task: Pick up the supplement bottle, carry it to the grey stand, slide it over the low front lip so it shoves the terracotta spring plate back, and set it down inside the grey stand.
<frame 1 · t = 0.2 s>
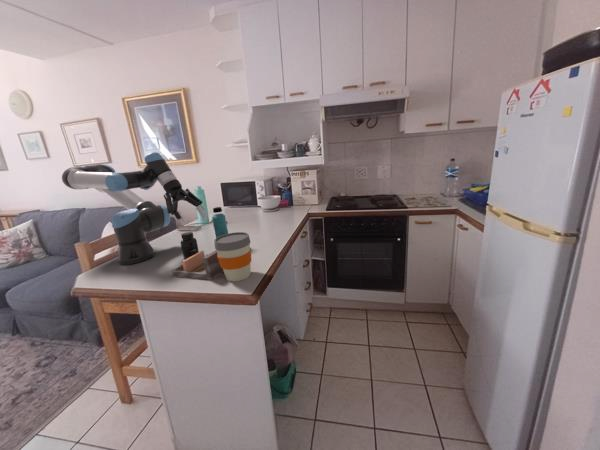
hand: (195, 220, 125), 15 cm above the table, tool tilted 30°, fingers open, 13 cm apart
reusable coffee cup: (238, 276, 98), on the table
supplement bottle: (192, 258, 121), on the table
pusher: (194, 261, 107), point 3 cm above the table, slide at 0.0 cm
beverage bottle: (224, 246, 133), on the table
grey stand: (203, 269, 106), on the table
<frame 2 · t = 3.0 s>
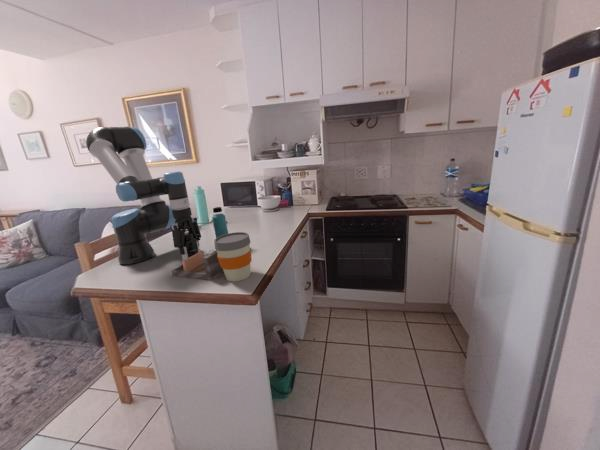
hand: (192, 257, 121), 1 cm above the table, tool pointing down, fingers closed on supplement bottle, 7 cm apart
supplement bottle: (192, 258, 121), on the table, touching gripper
everything else where it was.
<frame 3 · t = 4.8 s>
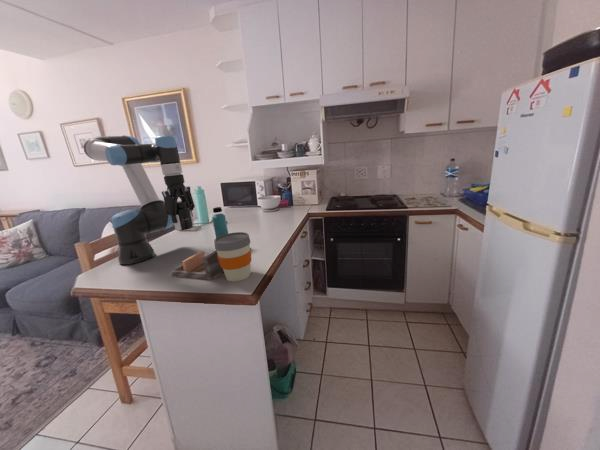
hand: (185, 227, 117), 15 cm above the table, tool pointing down, fingers closed on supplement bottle, 7 cm apart
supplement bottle: (185, 228, 117), point 14 cm above the table, touching gripper
everything else where it was.
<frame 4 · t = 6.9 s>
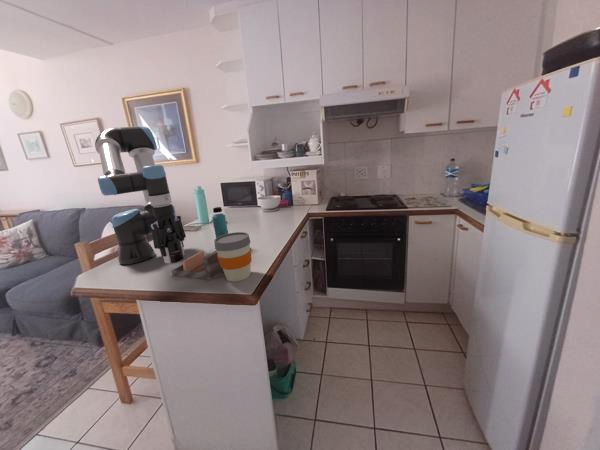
hand: (175, 258, 110), 4 cm above the table, tool pointing down, fingers closed on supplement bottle, 7 cm apart
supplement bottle: (175, 260, 111), point 3 cm above the table, touching gripper
everything else where it was.
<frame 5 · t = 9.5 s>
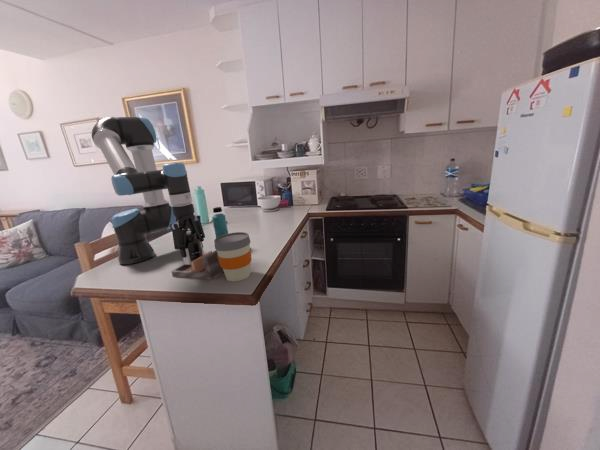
hand: (194, 260, 107), 4 cm above the table, tool pointing down, fingers closed on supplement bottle, 7 cm apart
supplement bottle: (195, 262, 107), point 3 cm above the table, touching gripper, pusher
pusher: (203, 262, 105), point 3 cm above the table, slide at 4.4 cm, touching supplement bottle
everything else where it was.
when the fingers open (2 cm above the table, at t = 10.7 s): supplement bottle drops 1 cm, resting on grey stand, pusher.
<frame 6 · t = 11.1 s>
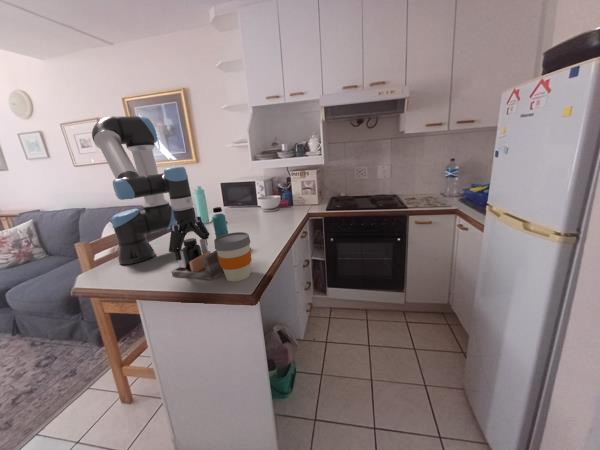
hand: (194, 260, 107), 4 cm above the table, tool pointing down, fingers open, 12 cm apart
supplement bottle: (195, 268, 108), resting on grey stand, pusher
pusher: (201, 262, 106), point 3 cm above the table, slide at 3.6 cm, touching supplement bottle
everything else where it was.
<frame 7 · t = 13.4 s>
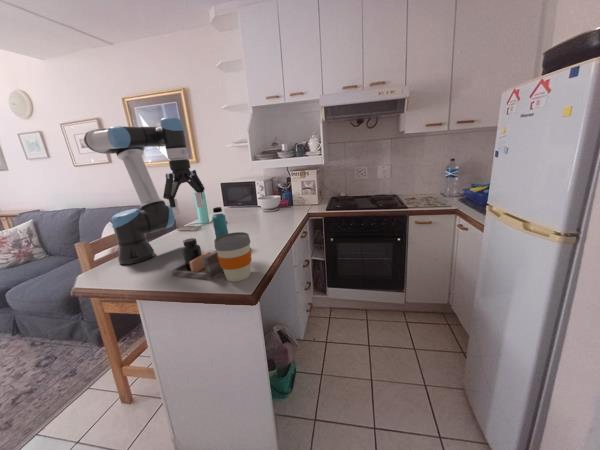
hand: (189, 210, 112), 22 cm above the table, tool pointing down, fingers open, 13 cm apart
nothing on the table moved.
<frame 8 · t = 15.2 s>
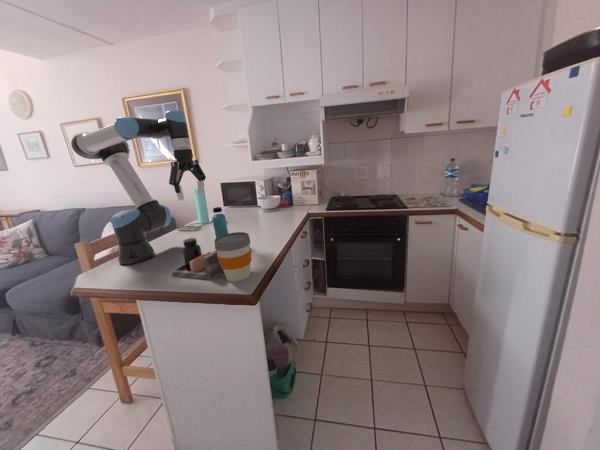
hand: (192, 197, 121), 27 cm above the table, tool pointing down, fingers open, 13 cm apart
nothing on the table moved.
at the end: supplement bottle 0.8 cm from the target spot on the grey stand, point 0.4 cm above the grey stand's base; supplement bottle tilted 0°; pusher slide at 3.6 cm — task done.
